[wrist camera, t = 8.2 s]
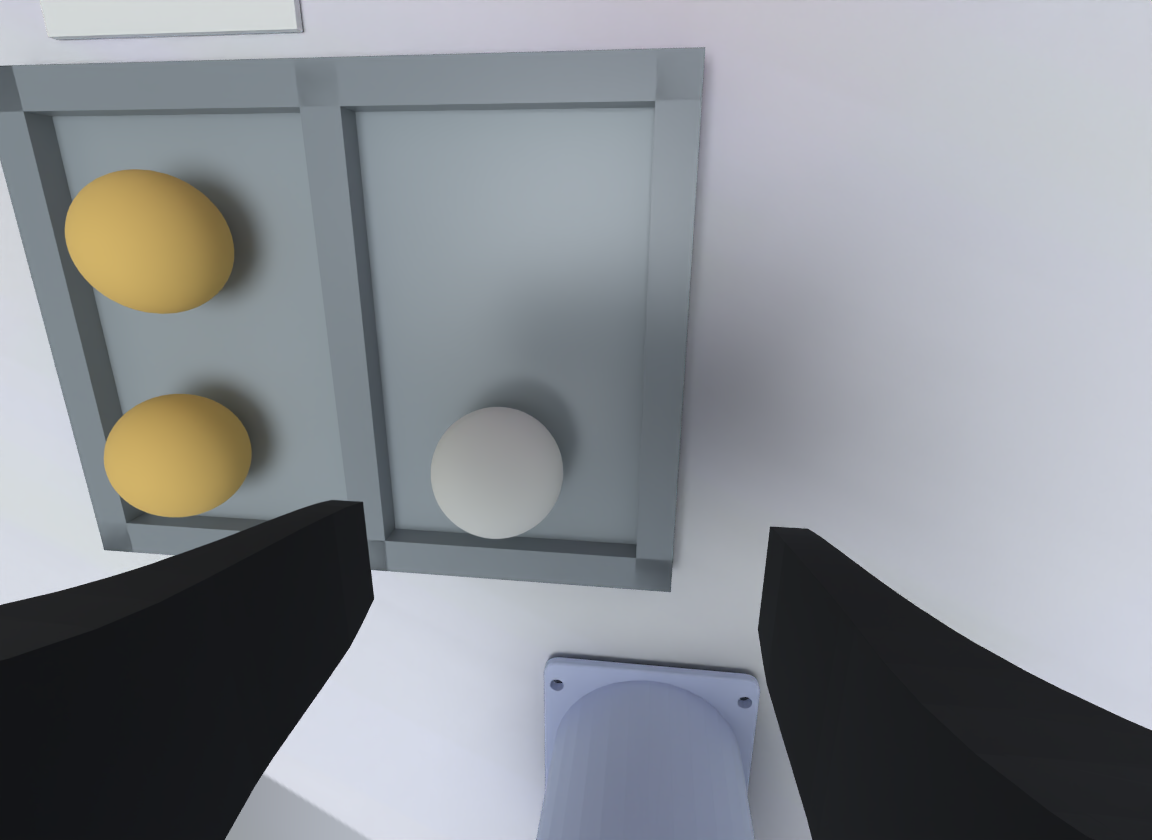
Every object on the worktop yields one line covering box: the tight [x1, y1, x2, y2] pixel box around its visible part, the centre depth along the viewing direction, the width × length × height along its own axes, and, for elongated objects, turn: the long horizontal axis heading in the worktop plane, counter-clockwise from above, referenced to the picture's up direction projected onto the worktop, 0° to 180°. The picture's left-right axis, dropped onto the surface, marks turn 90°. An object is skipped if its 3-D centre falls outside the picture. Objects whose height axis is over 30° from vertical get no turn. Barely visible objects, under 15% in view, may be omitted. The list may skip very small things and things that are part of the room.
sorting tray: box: [0, 47, 705, 592], centre depth 20 cm, size 16×21×1 cm
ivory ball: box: [431, 407, 563, 539], centre depth 18 cm, size 4×4×4 cm
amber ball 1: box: [65, 169, 234, 314], centre depth 17 cm, size 4×4×4 cm
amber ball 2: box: [104, 394, 252, 517], centre depth 20 cm, size 4×4×4 cm
